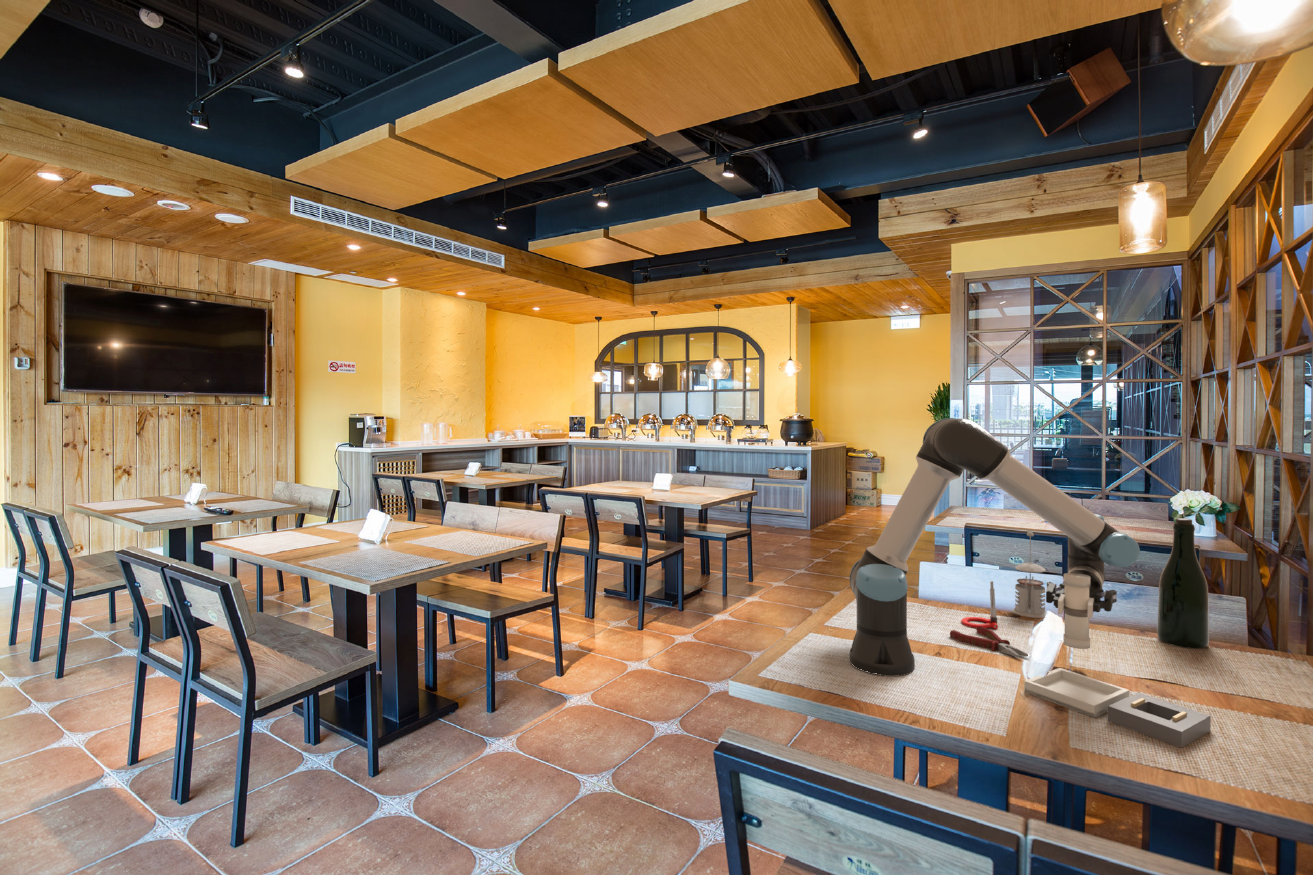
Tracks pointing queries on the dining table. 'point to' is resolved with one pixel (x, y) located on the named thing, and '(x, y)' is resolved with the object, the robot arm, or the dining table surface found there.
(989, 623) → the tow hook
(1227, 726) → the dining table surface
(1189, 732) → the fuse socket
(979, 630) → the pliers
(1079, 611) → the cylinder
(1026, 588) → the french press
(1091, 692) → the parts tray
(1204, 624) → the dark green wine bottle
